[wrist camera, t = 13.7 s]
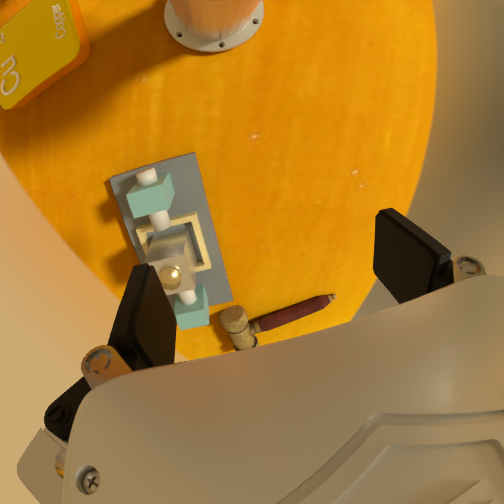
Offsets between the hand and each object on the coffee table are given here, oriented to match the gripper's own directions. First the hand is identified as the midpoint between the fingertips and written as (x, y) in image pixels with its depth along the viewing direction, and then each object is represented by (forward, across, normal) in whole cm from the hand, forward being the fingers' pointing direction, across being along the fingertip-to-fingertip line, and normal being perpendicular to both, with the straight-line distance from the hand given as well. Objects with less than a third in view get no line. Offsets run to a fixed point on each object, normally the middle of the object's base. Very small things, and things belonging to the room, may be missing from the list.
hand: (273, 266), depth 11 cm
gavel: (+29, -4, +30) cm, 42 cm away
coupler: (+27, +10, +11) cm, 31 cm away
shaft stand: (+28, +10, +11) cm, 32 cm away
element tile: (+29, +23, -25) cm, 45 cm away
